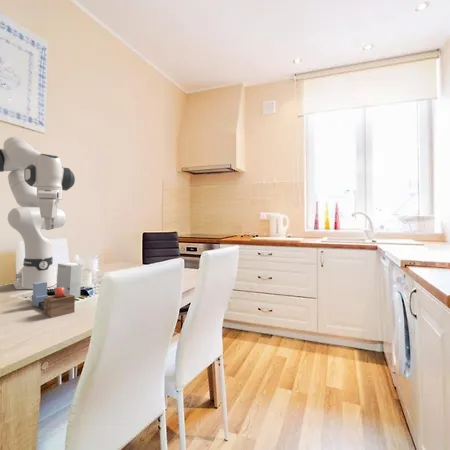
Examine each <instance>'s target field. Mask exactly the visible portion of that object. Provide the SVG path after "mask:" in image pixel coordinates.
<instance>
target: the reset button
mask: <svg viewBox="0 0 450 450" xmlns="http://www.w3.org/2000/svg"><path fill="white" fill-rule="evenodd" d="M54 296H55V297H63V296H64V287H57V286H56V287H54Z"/></svg>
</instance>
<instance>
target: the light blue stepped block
mask: <svg viewBox="0 0 450 450" xmlns="http://www.w3.org/2000/svg"><path fill="white" fill-rule="evenodd" d="M44 297H49V295H48V287H47V282H45V281H43V282H36V283H33V289H32V295H31V304H32V305H33V306H35V307H36V306H37V308H38V306H39V302H44Z"/></svg>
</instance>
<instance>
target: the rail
mask: <svg viewBox="0 0 450 450" xmlns="http://www.w3.org/2000/svg"><path fill="white" fill-rule="evenodd" d="M35 307H37V306H35ZM37 308H39V309H41V310H42V311H44V302H39V306H38V307H37Z"/></svg>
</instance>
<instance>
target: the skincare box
mask: <svg viewBox="0 0 450 450" xmlns="http://www.w3.org/2000/svg"><path fill="white" fill-rule="evenodd" d="M82 267H83V266H82V264H81V263H77V262H70V261H67V262H59V263H57V272H56V280H57V284H56V287H64V294H66V293H68V294H70V295H73V296H75V299H78V298H81V287H82V286H81V283H82Z"/></svg>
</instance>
